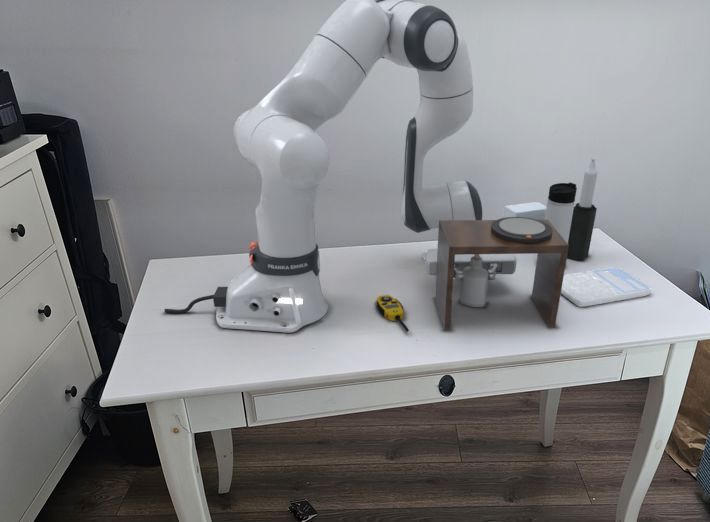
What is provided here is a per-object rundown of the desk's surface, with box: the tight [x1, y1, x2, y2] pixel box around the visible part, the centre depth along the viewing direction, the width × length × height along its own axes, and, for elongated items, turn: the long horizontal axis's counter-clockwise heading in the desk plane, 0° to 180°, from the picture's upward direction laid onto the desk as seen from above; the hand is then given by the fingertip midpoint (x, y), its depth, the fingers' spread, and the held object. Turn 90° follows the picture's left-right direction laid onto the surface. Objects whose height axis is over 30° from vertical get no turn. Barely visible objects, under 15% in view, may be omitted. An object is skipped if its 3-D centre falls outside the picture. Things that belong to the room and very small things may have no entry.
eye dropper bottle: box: [459, 254, 489, 308], centre depth 132 cm, size 4×6×12 cm
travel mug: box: [545, 181, 578, 244], centre depth 148 cm, size 6×7×20 cm
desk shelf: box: [434, 219, 569, 332], centre depth 127 cm, size 23×14×18 cm, turn 96°
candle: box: [567, 157, 598, 262], centre depth 152 cm, size 5×5×25 cm
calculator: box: [561, 266, 652, 308], centre depth 142 cm, size 13×20×2 cm, turn 112°
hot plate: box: [491, 217, 553, 244], centre depth 122 cm, size 12×12×1 cm
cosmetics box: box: [502, 201, 547, 220], centre depth 161 cm, size 10×6×10 cm, turn 113°
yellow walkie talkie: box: [376, 294, 410, 333], centre depth 128 cm, size 5×2×15 cm
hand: (476, 277), depth 130 cm, fingers closed on eye dropper bottle, 5 cm apart
